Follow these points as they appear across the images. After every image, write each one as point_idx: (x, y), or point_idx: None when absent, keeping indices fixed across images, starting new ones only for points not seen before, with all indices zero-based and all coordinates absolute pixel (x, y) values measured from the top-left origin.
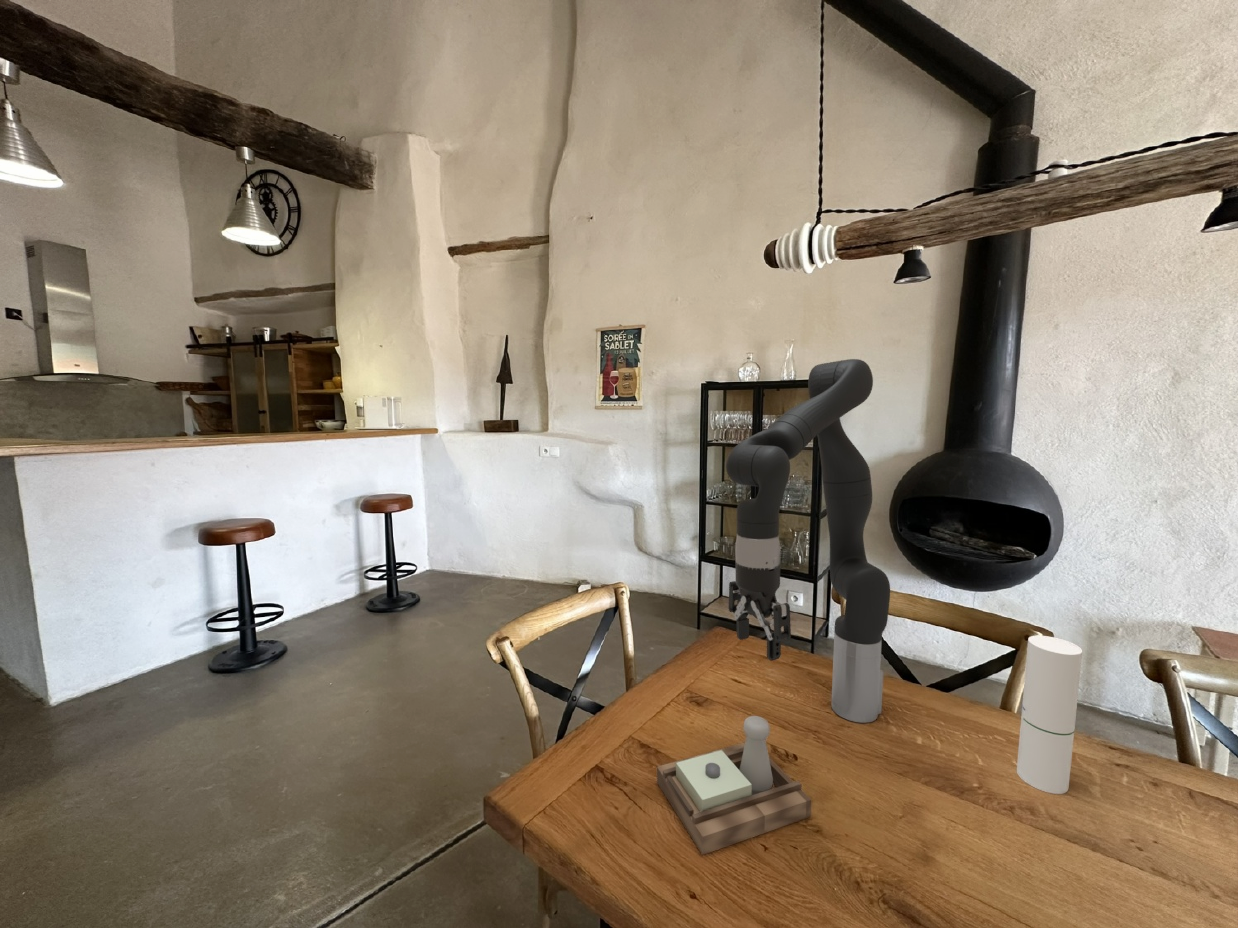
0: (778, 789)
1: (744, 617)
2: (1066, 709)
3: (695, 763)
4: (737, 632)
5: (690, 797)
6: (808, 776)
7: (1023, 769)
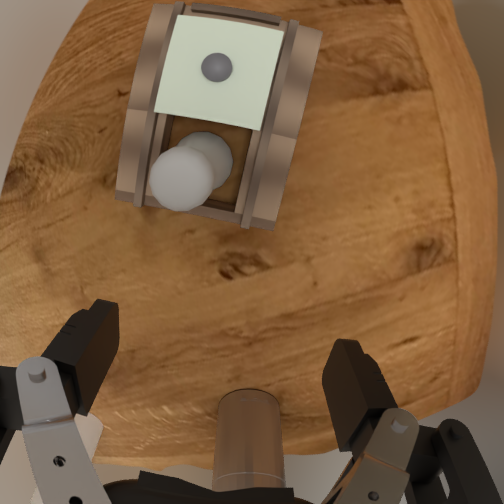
0: (142, 161)
1: (357, 444)
2: None
3: (259, 58)
4: (361, 356)
5: None
6: (183, 256)
7: (85, 419)
